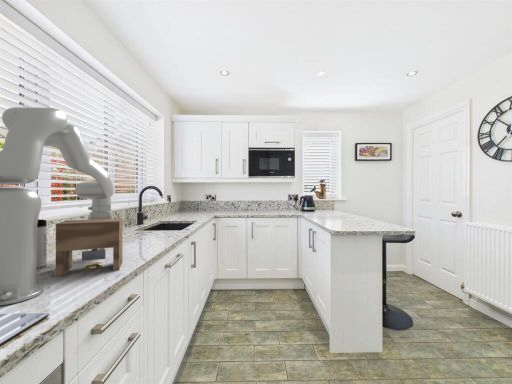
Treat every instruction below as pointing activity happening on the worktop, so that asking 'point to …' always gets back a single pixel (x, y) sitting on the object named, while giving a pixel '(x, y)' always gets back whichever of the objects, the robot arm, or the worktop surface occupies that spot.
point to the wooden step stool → (87, 240)
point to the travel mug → (41, 244)
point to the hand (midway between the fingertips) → (101, 247)
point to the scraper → (94, 254)
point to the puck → (93, 265)
